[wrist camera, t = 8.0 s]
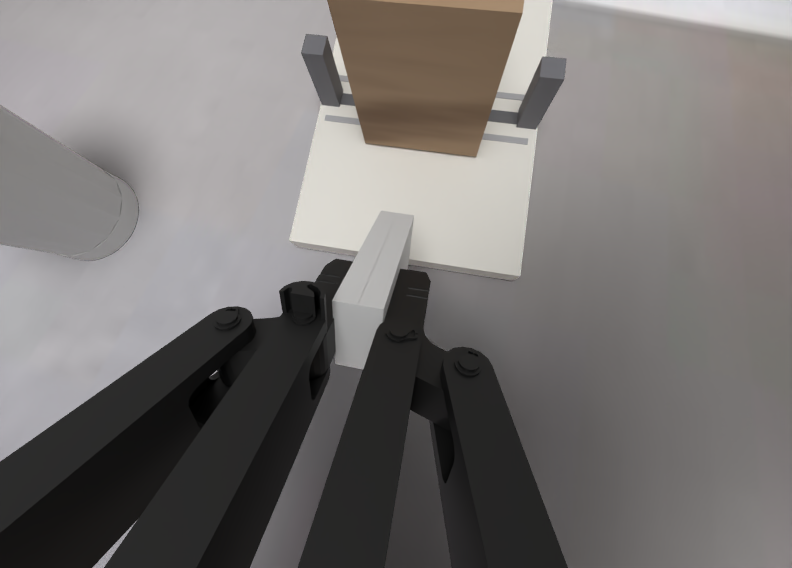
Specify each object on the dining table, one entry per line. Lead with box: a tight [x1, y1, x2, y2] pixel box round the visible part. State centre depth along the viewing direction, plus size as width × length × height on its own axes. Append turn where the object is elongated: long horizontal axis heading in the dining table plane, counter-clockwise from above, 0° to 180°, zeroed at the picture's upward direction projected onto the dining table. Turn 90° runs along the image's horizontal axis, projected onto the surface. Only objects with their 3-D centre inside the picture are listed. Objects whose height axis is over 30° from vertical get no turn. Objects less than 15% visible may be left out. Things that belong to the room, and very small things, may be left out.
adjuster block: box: [327, 0, 524, 157], centre depth 15 cm, size 6×7×12 cm
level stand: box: [289, 0, 566, 281], centre depth 20 cm, size 20×14×6 cm
